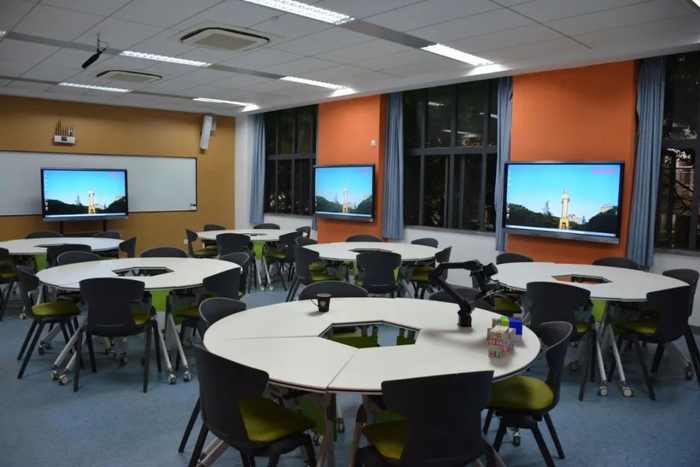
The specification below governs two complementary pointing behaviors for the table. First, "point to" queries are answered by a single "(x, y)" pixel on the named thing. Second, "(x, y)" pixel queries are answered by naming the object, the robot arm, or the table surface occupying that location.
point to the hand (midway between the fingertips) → (494, 307)
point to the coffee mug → (323, 302)
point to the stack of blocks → (500, 341)
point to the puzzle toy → (513, 326)
